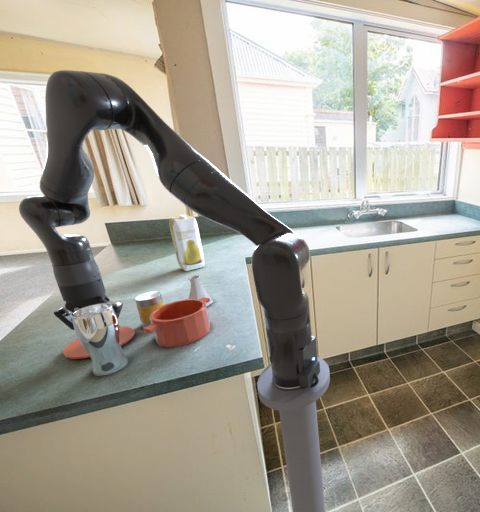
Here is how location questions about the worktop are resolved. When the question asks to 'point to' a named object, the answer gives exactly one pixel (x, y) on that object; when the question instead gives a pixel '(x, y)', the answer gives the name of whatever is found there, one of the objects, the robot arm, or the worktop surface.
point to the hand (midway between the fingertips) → (100, 340)
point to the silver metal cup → (100, 337)
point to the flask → (198, 289)
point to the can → (148, 305)
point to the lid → (78, 351)
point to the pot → (180, 322)
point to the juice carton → (187, 242)
